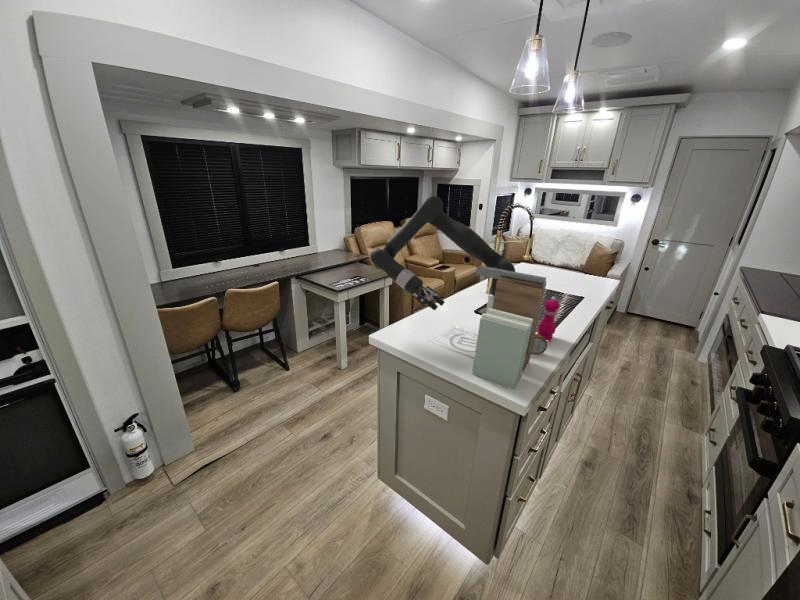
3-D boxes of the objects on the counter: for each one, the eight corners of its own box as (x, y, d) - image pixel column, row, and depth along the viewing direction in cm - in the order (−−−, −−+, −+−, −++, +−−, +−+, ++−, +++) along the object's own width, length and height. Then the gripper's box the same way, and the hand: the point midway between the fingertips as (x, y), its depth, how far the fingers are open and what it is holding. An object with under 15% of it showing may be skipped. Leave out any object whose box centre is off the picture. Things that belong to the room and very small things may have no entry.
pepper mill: (555, 337, 145) (565, 296, 138) (550, 343, 140) (560, 300, 132) (539, 332, 149) (548, 292, 142) (533, 337, 144) (542, 296, 137)
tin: (544, 353, 131) (548, 335, 128) (545, 357, 128) (550, 338, 125) (506, 347, 134) (509, 329, 132) (506, 350, 132) (510, 332, 129)
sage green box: (480, 363, 121) (489, 307, 113) (521, 377, 114) (533, 318, 105) (472, 374, 114) (480, 314, 106) (514, 389, 106) (527, 327, 98)
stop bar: (478, 272, 122) (479, 265, 121) (544, 285, 110) (546, 277, 109) (475, 274, 120) (476, 266, 119) (543, 287, 108) (544, 279, 107)
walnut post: (491, 349, 131) (504, 272, 120) (529, 361, 124) (547, 280, 112) (484, 358, 124) (497, 277, 112) (523, 372, 117) (542, 286, 105)
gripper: (406, 277, 123) (439, 302, 119) (420, 272, 135) (450, 295, 132) (397, 292, 126) (428, 317, 122) (411, 286, 139) (440, 309, 135)
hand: (440, 306), depth 127 cm, fingers open, 8 cm apart
